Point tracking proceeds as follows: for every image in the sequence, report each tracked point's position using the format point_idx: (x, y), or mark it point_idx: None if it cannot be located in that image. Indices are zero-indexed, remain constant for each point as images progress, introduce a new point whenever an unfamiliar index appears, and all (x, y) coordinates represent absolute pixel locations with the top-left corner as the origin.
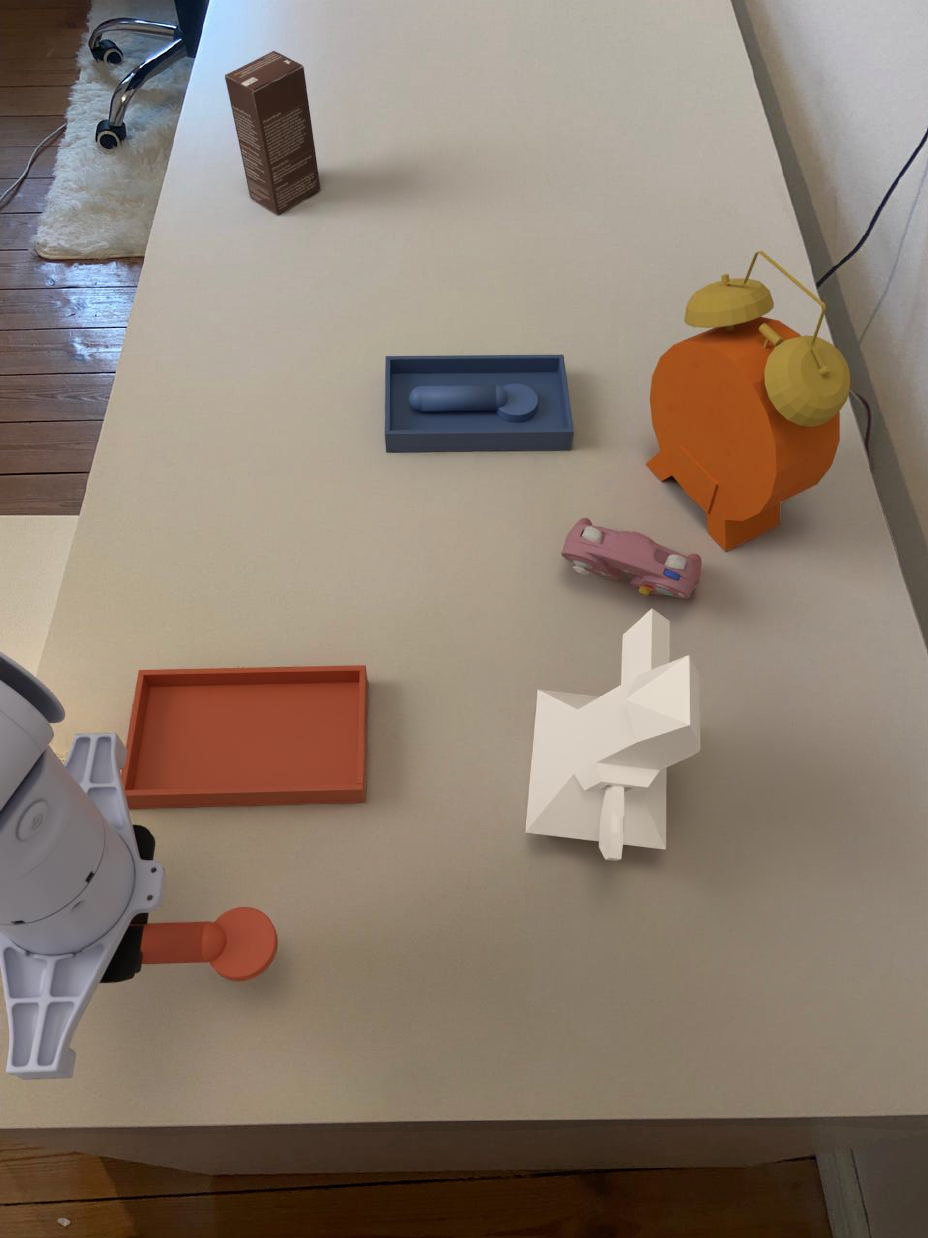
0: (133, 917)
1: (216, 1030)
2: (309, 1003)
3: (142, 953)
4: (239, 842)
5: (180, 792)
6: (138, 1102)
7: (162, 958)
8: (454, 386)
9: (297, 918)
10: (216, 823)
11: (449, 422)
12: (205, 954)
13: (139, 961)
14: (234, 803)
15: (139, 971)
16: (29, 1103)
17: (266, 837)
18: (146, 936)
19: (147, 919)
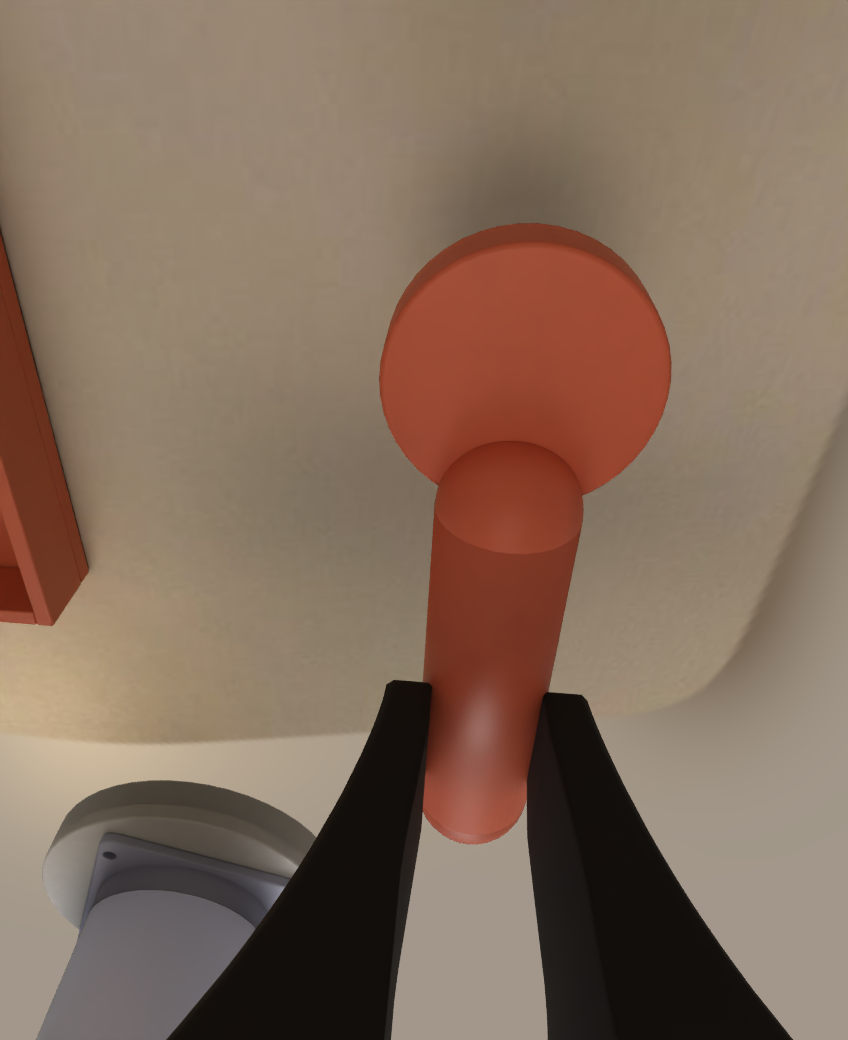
0: (424, 766)
1: None
2: (636, 76)
3: (549, 733)
4: (131, 310)
5: (6, 495)
6: (761, 520)
7: (555, 646)
8: None
9: (357, 121)
10: (86, 374)
11: None
12: (570, 528)
13: (597, 774)
14: (13, 332)
15: (585, 701)
16: (694, 689)
17: (103, 229)
18: (482, 705)
19: (428, 714)
